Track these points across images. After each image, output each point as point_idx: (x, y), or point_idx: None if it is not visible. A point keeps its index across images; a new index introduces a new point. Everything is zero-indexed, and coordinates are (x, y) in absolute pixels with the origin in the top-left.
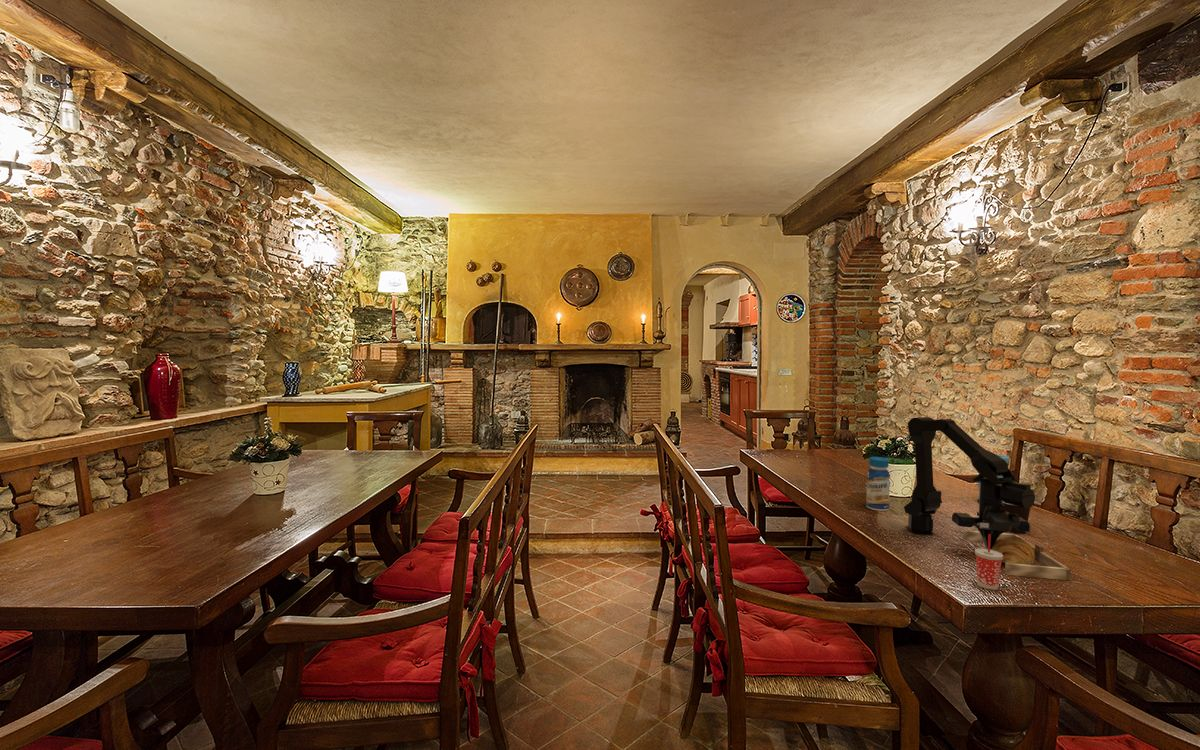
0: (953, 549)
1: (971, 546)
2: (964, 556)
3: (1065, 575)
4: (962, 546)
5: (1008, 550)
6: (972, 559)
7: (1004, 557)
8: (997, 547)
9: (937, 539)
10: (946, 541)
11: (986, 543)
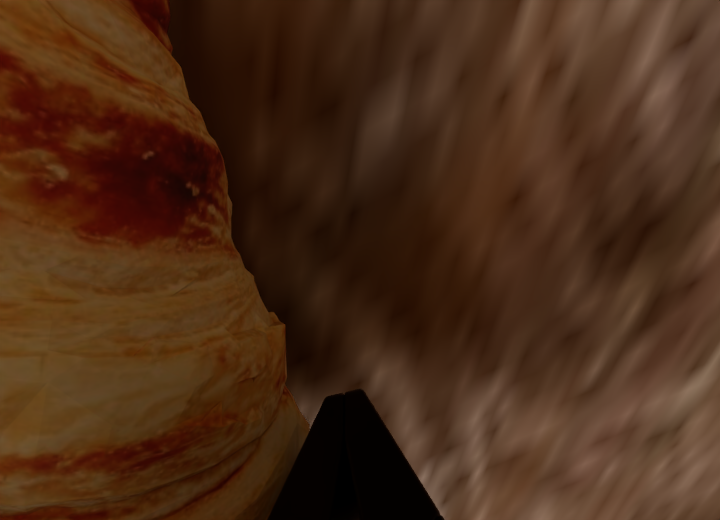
0: (645, 364)
1: (443, 498)
2: (626, 200)
3: None
4: (521, 468)
5: (27, 269)
6: (569, 129)
7: (150, 75)
8: (245, 422)
9: (665, 516)
10: (611, 509)
11: (403, 457)
